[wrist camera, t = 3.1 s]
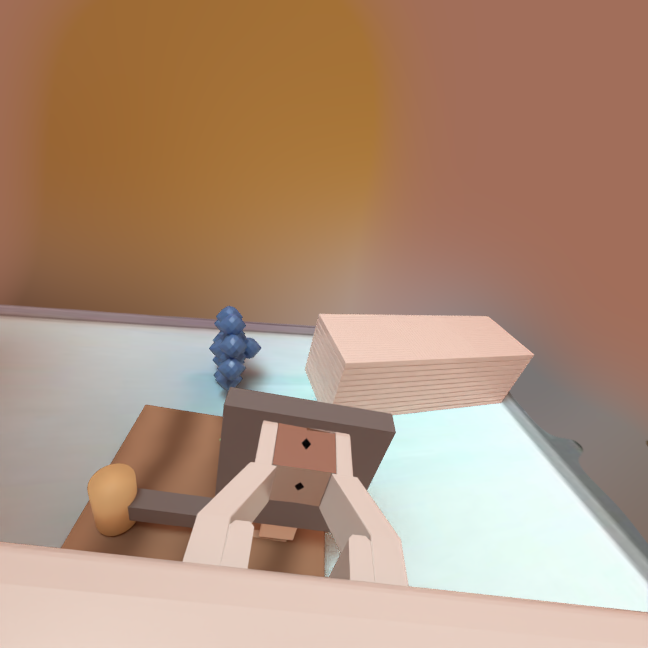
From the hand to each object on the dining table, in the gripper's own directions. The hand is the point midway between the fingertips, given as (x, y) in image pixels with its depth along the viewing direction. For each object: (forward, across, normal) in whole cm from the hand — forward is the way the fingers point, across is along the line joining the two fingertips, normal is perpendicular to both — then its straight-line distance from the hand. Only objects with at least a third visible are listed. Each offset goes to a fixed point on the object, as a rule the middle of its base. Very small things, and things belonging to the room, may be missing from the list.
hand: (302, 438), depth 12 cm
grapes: (+29, +7, +26) cm, 40 cm away
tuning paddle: (+8, +3, +23) cm, 25 cm away
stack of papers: (+35, -20, +26) cm, 48 cm away
